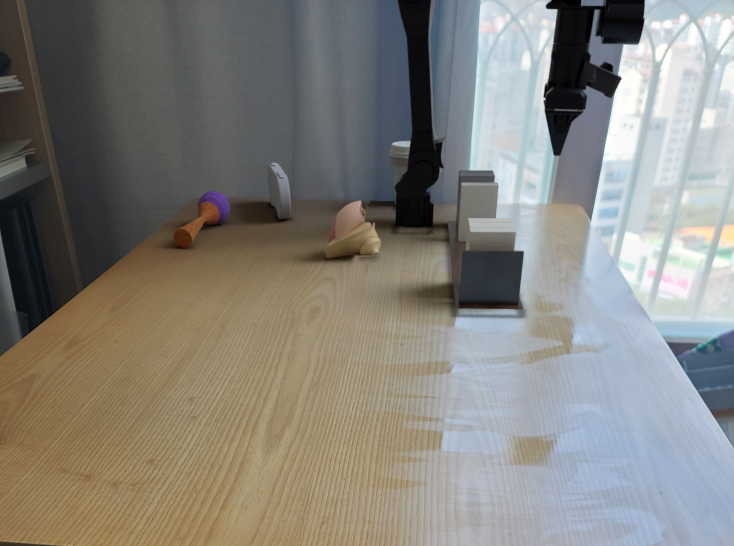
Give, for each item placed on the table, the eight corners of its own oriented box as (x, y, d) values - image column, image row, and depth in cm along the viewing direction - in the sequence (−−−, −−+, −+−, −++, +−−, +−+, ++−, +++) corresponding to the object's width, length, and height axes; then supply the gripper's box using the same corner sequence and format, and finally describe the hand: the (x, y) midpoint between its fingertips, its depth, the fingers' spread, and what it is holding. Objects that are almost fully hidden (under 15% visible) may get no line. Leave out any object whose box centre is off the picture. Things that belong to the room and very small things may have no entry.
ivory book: (458, 241, 127) (461, 185, 122) (457, 237, 129) (461, 182, 124) (493, 241, 127) (498, 185, 122) (492, 238, 129) (497, 182, 124)
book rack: (455, 315, 101) (458, 255, 96) (447, 226, 140) (449, 180, 136) (522, 316, 100) (529, 255, 95) (495, 226, 140) (499, 180, 135)
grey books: (456, 229, 134) (460, 175, 129) (456, 222, 138) (459, 170, 133) (490, 229, 134) (494, 175, 129) (488, 222, 138) (492, 170, 133)
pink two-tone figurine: (395, 256, 126) (389, 225, 117) (346, 290, 126) (337, 262, 117) (365, 217, 128) (356, 184, 119) (317, 251, 128) (305, 220, 119)
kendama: (161, 224, 128) (199, 189, 143) (173, 257, 131) (209, 221, 147) (192, 218, 126) (228, 184, 142) (204, 252, 130) (237, 216, 145)
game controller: (293, 223, 144) (290, 176, 139) (281, 223, 143) (278, 177, 139) (279, 201, 160) (277, 159, 155) (269, 201, 159) (266, 159, 155)
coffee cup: (380, 209, 152) (380, 145, 145) (400, 201, 158) (402, 139, 151) (417, 214, 148) (419, 148, 141) (437, 206, 154) (440, 142, 147)
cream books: (465, 298, 103) (470, 231, 98) (463, 282, 109) (467, 217, 104) (509, 299, 103) (516, 231, 98) (504, 282, 109) (511, 218, 104)
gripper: (630, 48, 110) (609, 162, 119) (618, 42, 125) (600, 144, 134) (552, 46, 112) (538, 160, 120) (550, 41, 127) (537, 141, 136)
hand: (556, 151), depth 127 cm, fingers open, 9 cm apart
